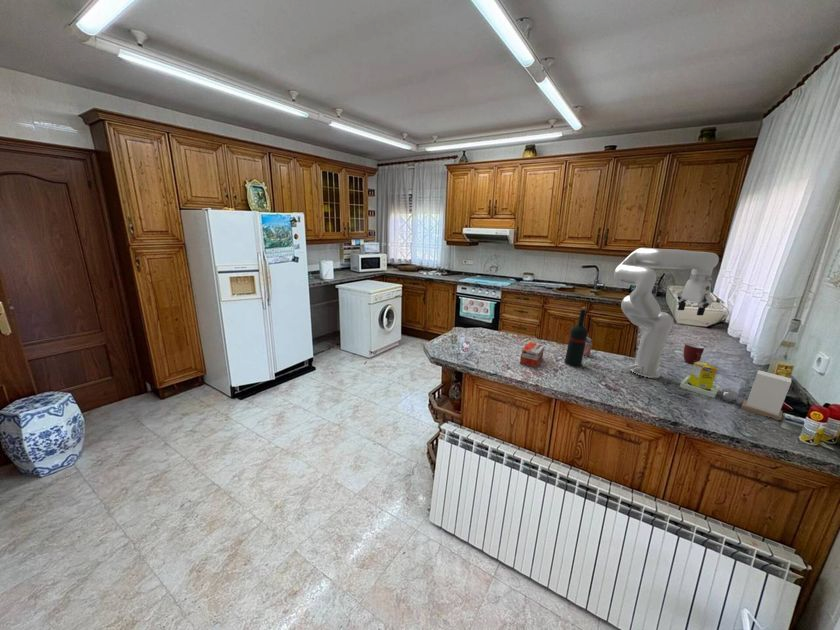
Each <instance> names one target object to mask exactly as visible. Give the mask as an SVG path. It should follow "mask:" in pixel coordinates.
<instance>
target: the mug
mask: <svg viewBox="0 0 840 630" xmlns="http://www.w3.org/2000/svg"><path fill="white" fill-rule="evenodd" d="M704 351H705V347H704V345H703V346H702V345H699V344H698V343H697V344H696V343H691V342H686V343H685V344H684V348H683V359H684V362H685V363H687V364H691V365H693V364H694V362H699V361H701V359H702V355H703V353H704Z"/></svg>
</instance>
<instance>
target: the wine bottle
mask: <svg viewBox="0 0 840 630" xmlns="http://www.w3.org/2000/svg"><path fill="white" fill-rule="evenodd" d="M579 313H580V314H579V317H578V323H577V325H574V326H572V328H571V329H570V333H569V338H568V343H567V348H566V353H565V358H564V359H565V360H564V363H565V364H566V365H568V366H571V367H576V368H579V367H581V366H582V362H583V358H584V356H583V353H584V347H585V342H586V337H588V329H587V328H586V327H585V326H584V320H585V315H586V306H581V309H580V312H579Z"/></svg>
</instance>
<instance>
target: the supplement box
mask: <svg viewBox="0 0 840 630" xmlns="http://www.w3.org/2000/svg"><path fill="white" fill-rule="evenodd" d="M717 371H718V368H717V367H715V366H713V365H712V364H710V363H706V362H699V361H697V362H694V364H692V368H691V371H690V375H689V377H690V378H689V381H688V384H689V385H691V386H694V387H698V388H701V389H704V390H707V391H711V387H712V384H714V380H715V377H716V374H717Z"/></svg>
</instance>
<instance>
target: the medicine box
mask: <svg viewBox="0 0 840 630" xmlns="http://www.w3.org/2000/svg"><path fill="white" fill-rule="evenodd" d="M545 346H546V345H544V344H541V343H536V342H532V341H529V342H527V344H526V345H525V346H524V347H523V348H521V353H520V361H519V364H521V365H525V366H530V367H532V368H537V366H539V364H540V363H541V361H542V360H543V355H544V351H545Z"/></svg>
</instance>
